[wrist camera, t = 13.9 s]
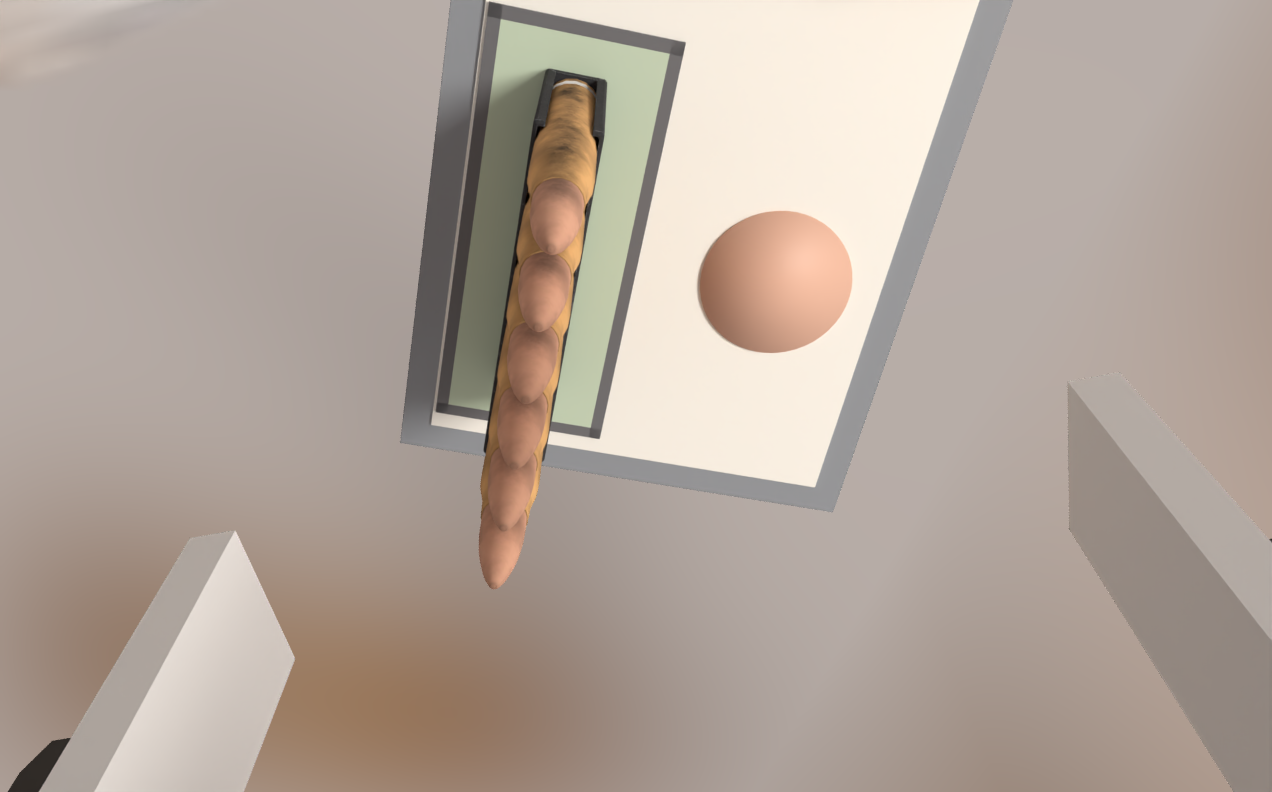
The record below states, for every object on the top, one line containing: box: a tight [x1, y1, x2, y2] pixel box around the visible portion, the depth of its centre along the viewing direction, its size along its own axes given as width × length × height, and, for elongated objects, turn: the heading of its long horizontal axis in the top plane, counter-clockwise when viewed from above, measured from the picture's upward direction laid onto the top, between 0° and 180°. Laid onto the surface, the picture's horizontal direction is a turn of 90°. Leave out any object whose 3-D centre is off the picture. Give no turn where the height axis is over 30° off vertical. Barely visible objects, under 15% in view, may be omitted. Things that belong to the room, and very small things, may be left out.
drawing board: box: [400, 0, 1013, 512], centre depth 33 cm, size 16×25×1 cm, turn 168°
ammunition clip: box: [479, 68, 607, 589], centre depth 29 cm, size 11×2×12 cm, turn 169°
